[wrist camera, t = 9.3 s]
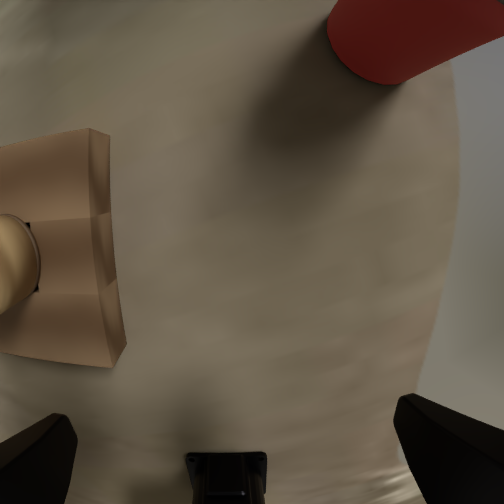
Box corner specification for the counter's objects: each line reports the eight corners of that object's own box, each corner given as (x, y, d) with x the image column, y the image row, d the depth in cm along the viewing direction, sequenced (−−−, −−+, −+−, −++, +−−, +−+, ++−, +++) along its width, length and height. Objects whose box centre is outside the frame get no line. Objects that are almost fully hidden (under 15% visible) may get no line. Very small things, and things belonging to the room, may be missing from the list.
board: (126, 343, 19) (112, 367, 16) (-3, 330, 18) (-24, 346, 15) (109, 135, 16) (88, 128, 13) (-25, 163, 15) (-51, 163, 12)
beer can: (350, 97, 17) (487, 17, 5) (306, 9, 15) (376, -120, 3) (428, 79, 16) (561, 30, 5) (387, 0, 15) (483, -86, 3)
